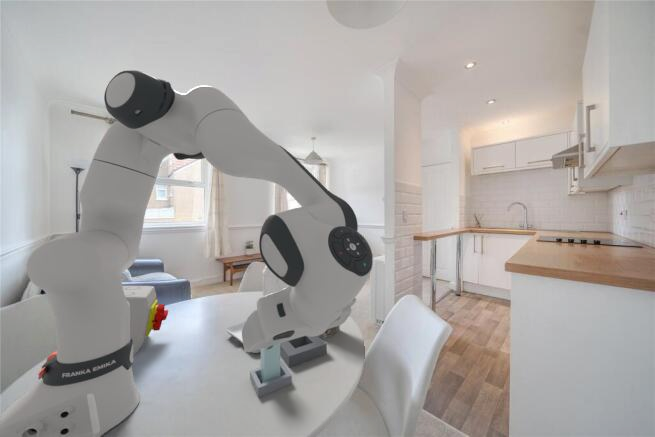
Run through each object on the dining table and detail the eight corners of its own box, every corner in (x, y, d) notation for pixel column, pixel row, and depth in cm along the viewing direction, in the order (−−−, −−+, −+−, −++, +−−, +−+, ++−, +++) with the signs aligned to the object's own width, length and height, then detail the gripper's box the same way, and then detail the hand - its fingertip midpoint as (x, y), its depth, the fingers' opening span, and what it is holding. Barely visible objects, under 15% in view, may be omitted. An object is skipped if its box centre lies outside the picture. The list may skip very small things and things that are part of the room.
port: (289, 371, 64) (289, 354, 64) (275, 351, 73) (275, 337, 73) (326, 357, 70) (326, 341, 70) (309, 341, 80) (309, 327, 80)
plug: (264, 387, 56) (264, 342, 56) (260, 380, 59) (260, 337, 59) (280, 381, 58) (280, 338, 58) (276, 374, 61) (276, 333, 61)
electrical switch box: (157, 357, 74) (168, 293, 76) (94, 364, 67) (107, 293, 69) (164, 337, 87) (173, 282, 89) (112, 340, 80) (123, 281, 82)
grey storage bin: (258, 401, 53) (258, 388, 53) (250, 382, 59) (249, 370, 59) (291, 387, 58) (291, 375, 58) (280, 371, 64) (280, 360, 64)
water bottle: (261, 311, 106) (261, 255, 106) (277, 308, 109) (276, 254, 109) (264, 317, 99) (264, 257, 99) (280, 314, 102) (280, 256, 102)
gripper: (352, 281, 47) (326, 313, 56) (247, 300, 37) (235, 336, 45) (367, 310, 44) (337, 340, 52) (255, 341, 33) (240, 373, 41)
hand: (289, 338), depth 48 cm, fingers open, 8 cm apart
